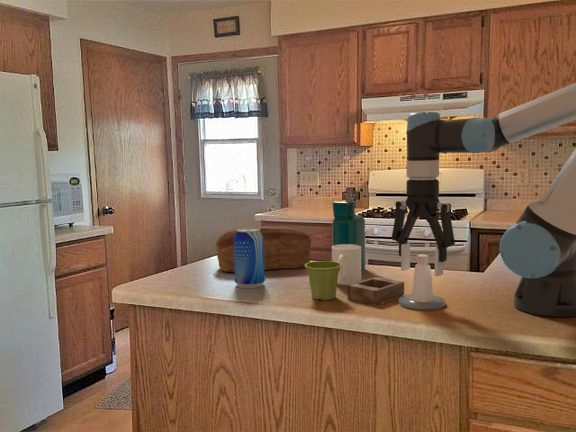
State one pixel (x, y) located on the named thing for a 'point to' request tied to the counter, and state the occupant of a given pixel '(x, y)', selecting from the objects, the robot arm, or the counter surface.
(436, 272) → the robot arm
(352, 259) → the mug
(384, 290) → the pocket block
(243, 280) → the beer can
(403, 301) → the grey plate
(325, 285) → the plant pot
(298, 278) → the counter surface
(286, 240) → the bread
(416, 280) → the salt shaker
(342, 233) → the teal bottle
